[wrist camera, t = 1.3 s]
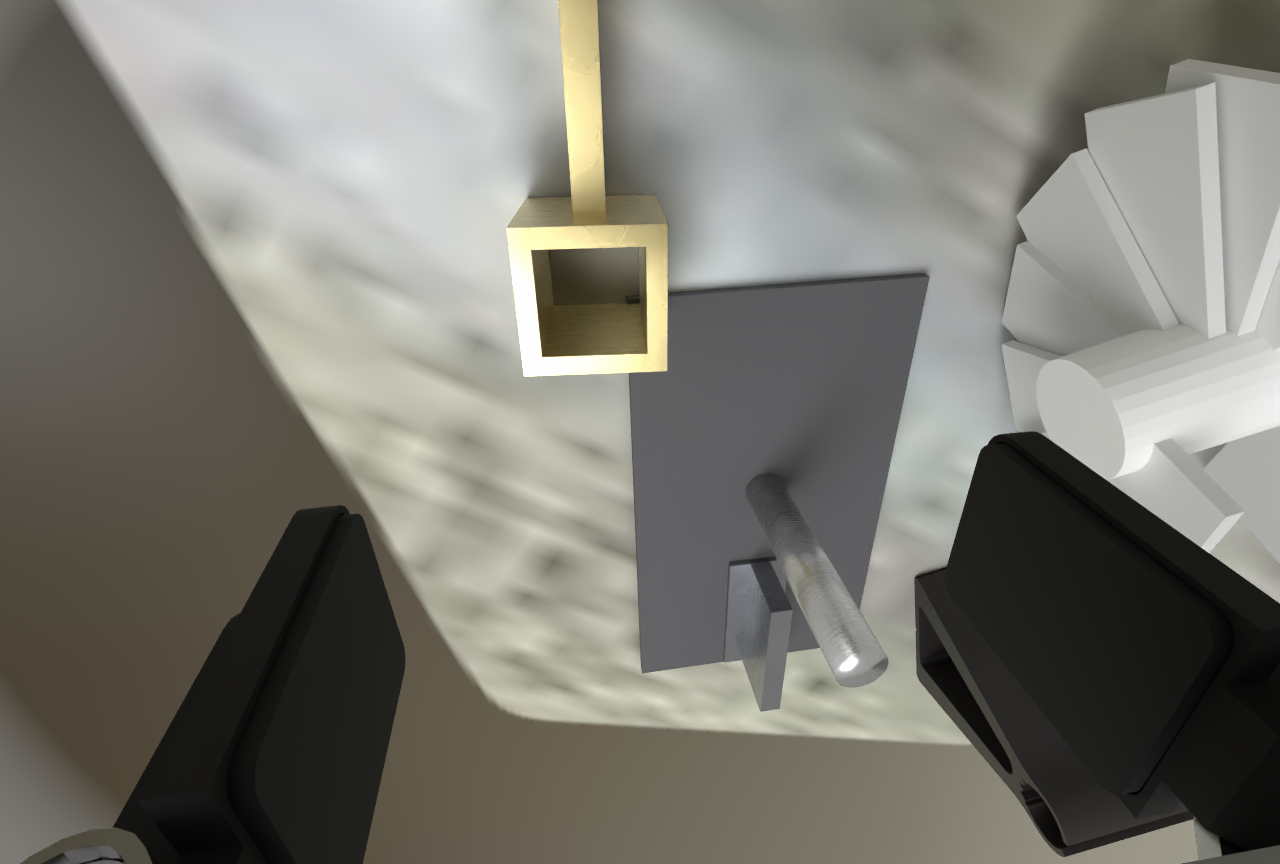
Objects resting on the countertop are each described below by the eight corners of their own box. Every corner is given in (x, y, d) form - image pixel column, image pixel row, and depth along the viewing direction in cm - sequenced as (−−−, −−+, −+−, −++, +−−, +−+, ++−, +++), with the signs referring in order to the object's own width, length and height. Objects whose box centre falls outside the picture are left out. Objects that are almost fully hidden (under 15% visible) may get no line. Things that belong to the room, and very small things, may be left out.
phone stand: (914, 574, 34) (1079, 796, 24) (1020, 543, 34) (1232, 751, 24) (915, 676, 39) (1054, 898, 28) (1009, 649, 39) (1181, 860, 28)
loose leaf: (495, -106, 17) (459, -167, 13) (653, -107, 18) (669, -169, 13) (539, 321, 23) (524, 376, 19) (655, 317, 24) (667, 371, 19)
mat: (625, 296, 24) (627, 300, 23) (923, 273, 25) (929, 276, 25) (641, 667, 34) (642, 673, 34) (849, 637, 36) (852, 643, 35)
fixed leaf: (733, 476, 28) (820, 656, 20) (797, 469, 28) (910, 643, 20) (723, 657, 34) (785, 854, 26) (775, 650, 35) (854, 841, 26)
